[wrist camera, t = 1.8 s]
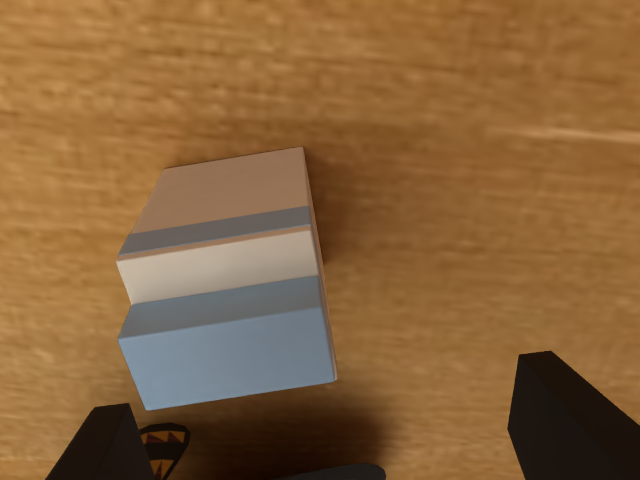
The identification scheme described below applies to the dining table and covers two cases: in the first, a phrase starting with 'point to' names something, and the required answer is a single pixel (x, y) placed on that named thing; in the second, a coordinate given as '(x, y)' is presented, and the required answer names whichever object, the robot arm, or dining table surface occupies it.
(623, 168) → the dining table surface
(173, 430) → the decorative fish sculpture
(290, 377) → the milk carton
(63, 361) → the dining table surface
